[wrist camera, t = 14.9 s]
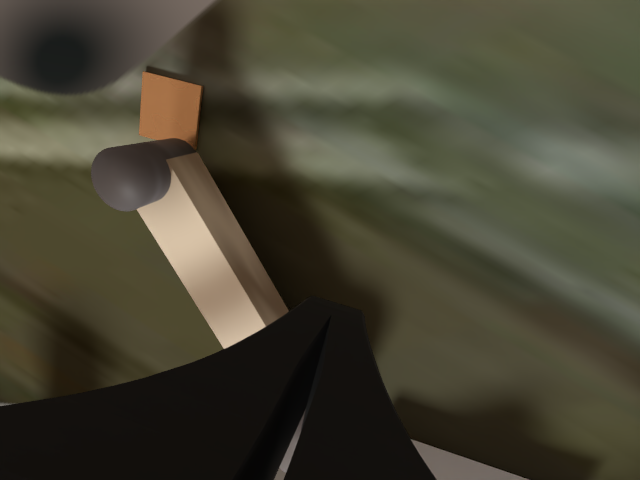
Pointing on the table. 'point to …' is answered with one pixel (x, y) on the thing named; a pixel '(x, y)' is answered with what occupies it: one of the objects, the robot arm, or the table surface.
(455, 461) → the tray
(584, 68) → the table surface
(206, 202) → the crank
